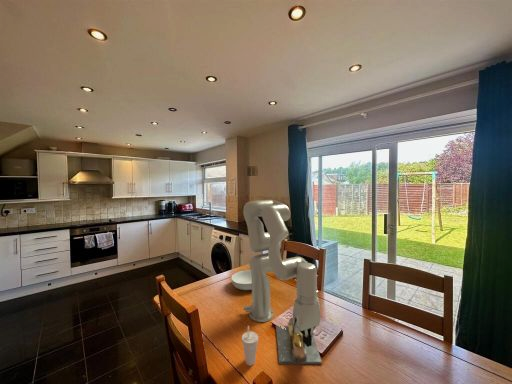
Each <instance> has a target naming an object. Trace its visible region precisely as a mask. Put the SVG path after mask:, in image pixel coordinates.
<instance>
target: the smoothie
mask: <svg viewBox="0 0 512 384" xmlns="http://www.w3.org/2000/svg"><path fill="white" fill-rule="evenodd" d="M241 342H242V346H243V353H244V359H245V363H246V365H247V366H254V365H255V363H256V359H257V358H256V357H257V348H258V342H259V335H258V334H257V332H254V331H250V325H247V332H246V331H245V332H244V333H243V334H242V335H241Z"/></svg>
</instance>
